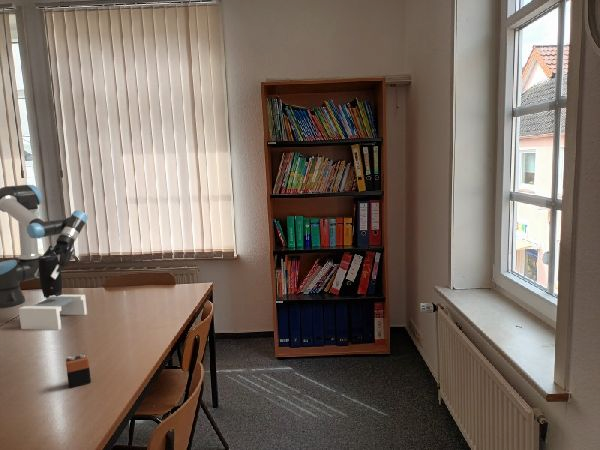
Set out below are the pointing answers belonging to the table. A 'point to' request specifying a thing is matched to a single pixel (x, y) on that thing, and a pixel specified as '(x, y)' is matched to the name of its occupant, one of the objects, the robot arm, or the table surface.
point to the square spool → (51, 311)
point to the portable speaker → (49, 276)
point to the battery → (78, 370)
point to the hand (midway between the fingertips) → (44, 277)
